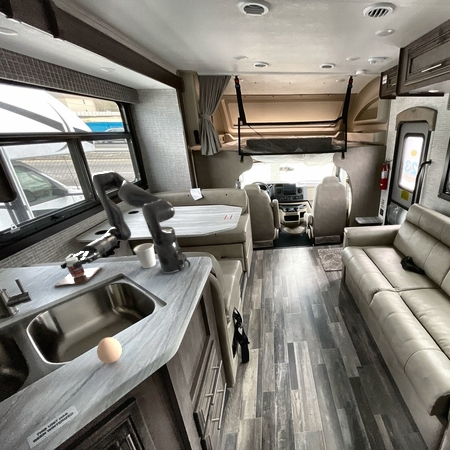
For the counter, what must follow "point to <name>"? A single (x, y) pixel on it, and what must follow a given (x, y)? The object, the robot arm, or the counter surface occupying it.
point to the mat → (78, 278)
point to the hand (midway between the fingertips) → (68, 266)
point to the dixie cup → (146, 255)
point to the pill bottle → (74, 271)
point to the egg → (109, 350)
